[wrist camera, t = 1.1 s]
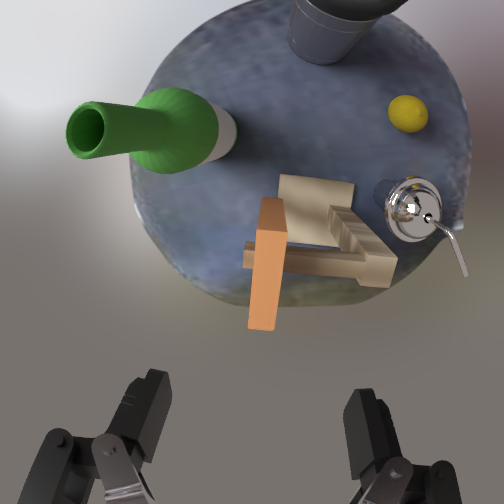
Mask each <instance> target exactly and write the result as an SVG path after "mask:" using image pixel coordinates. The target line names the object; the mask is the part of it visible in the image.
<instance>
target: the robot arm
mask: <svg viewBox="0 0 504 504" xmlns="http://www.w3.org/2000/svg"><path fill="white" fill-rule="evenodd" d="M407 1H408V0H292V7H291V15H290V22H289V28H288V42H289V44H290V46H291V48H292V50H293V51H294V52H295V53H296V54H297V55H298V56H299V57H301V58H302V59H304V60H305V61H308V62H310V63H314V64H318V65H328V64H333V63H336V62H338V61H339V60H341V59H342V58H343V57H344V56H345V55H346V54H347V53H348V52H349V51H350V50H351V49H352V48H353V47H354V46H355V44H356V43H357V42H358V41H359V40H360V39H361V38H362V37H363V36H364V35H365V34H366V33H367V32H368V31H369V30H370V28H371V27H372V26H373V25H374V24H375V23H376V22H377V21H378V20H379V19H380V18H381V17H382V16H383V15H387V14H390V13H392V12H394V11H395V10H397V9H398V8H399V7H400V6H401V5H403V4H404V3H405V2H407ZM171 401H172V390H171V386H170V380H169V375H168V372H165V371H160V370H156V369H150V370H149V371H148V373H147V375H146V377H145V379H142V378H139V377H138V378H137V379H135V380H134V381H133V382H132V383H131V384H130V385H129V386H128V388H127V390H126V392H125V396H123V398H122V400H121V403H120V405H119V407H118V409H117V411H116V413H115V415H114V417H113V419H112V421H111V423H110V425H109V427H108V429H107V431H106V432H105V433H104V434H101V435H99V436H97V437H96V438H83V437H74V436H72V435H71V434H70V433H69V432H68V431H67V430H65V429H61V428H56V429H53V430H51V431H49V432H48V434H47V435H46V437H45V439H44V441H43V443H42V445H41V447H40V450H39V452H38V454H37V456H36V459H35V461H34V463H33V465H32V467H31V470H30V472H29V475H28V477H27V479H26V482H25V484H24V487H23V489H22V492H21V495H20V498H19V500H18V503H17V504H87V502H88V499H89V495H90V492H91V489H92V486H93V483H94V480H95V478H96V479H101V480H102V483H103V486H104V488H105V492H106V495H105V501H106V504H158V503H157V501H156V499H155V497H154V495H153V494H152V491H151V490H150V487H149V486H148V483H147V481H146V479H145V477H144V475H143V473H142V471H141V467H142V464H143V461H145V462H148V463H151V462H152V458H153V456H154V452H155V449H156V446H157V443H158V440H159V437H160V434H161V431H162V429H163V426H164V423H165V420H166V417H167V414H168V411H169V408H170V405H171ZM343 421H344V427H345V434H346V440H347V447H348V454H349V460H350V468H351V476H352V480H358V479H360V481H361V485H360V486H359V487H358V489H357V490H356V492H355V493H354V495H353V496H352V498H351V499H350V500H349V502H348V503H347V504H398V503H399V504H462V501H461V497H460V492H459V486H458V482H457V478H456V473H455V470H454V467H453V465H452V464H451V463H449V462H448V461H443V460H441V461H438V462H436V463H434V464H433V465H432V466H423V465H414V464H411V462H410V461H409V460H407V459H406V458H404V457H403V456H402V453H401V450H400V446H399V442H398V439H397V435H396V432H395V428H394V427H393V422H392V419H391V414H390V411H389V408H388V406H387V405H386V404H385V403H384V401H383V400H382V399H376V397H375V393H374V391H373V389H372V388H367V389H355V390H354V392H353V394H352V396H351V397H350V399H349V401H348V403H347V405H346V407H345V409H344V413H343Z"/></svg>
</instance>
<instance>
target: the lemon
mask: <svg viewBox="0 0 504 504" xmlns="http://www.w3.org/2000/svg"><path fill="white" fill-rule="evenodd" d="M388 116H389V119H390V121H391V123H392V124H393V125H394V126H395V127H396V128H397V129H399V130H401V131H404V132H411V133H412V132H416V131H419V130H421V129H422V128H423V127H424V126H425V125H426V123H427V121H428V111H427V108H426V106H425V105H424V103H423V102H422V101H421V100H420V99H418V98H416V97H414V96H410V95H401V96H398V97H396V98H395V99H393V100H392V101H391V103H390V104H389V108H388Z"/></svg>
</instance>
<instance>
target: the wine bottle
mask: <svg viewBox="0 0 504 504" xmlns="http://www.w3.org/2000/svg"><path fill="white" fill-rule="evenodd" d="M237 136H238V129H237V124H236V122H235V120H234V119H233V117H232V116H231V115H230V114H229V113H228V112H226V111H225V110H223V109H221V108H220V107H218V106H216V105H214V104H213V103H211V102H209V101H207V100H206V99H204V98H202V97H200V96H198V95H196V94H194V93H192V92H190V91H188V90H185V89H180V88H162V89H159V90H157V91H154V92H151V93H149V94H148V95H146V96H145V97H143V98H142V99H140V100H139V102H138V103H137V104H136V105H135V106H134V107H133V106H127V105H120V104H112V103H103V102H93V101H91V102H86V103H84V104H82V105H80V106H79V107H78V108H77V109H75V111H74V112H73V113H72V115H71V116H70V118H69V120H68V123H67V127H66V141H67V145H68V147H69V150H70V151H71V152H72V153H73V154H74V155H75V156H76V157H78V158H81V159H92V158H97V157H103V156H109V155H116V154H122V153H129V152H130V154H131V156H132V157H133V158H134V160H135V161H136V162H137V163H138V164H139V165H141V166H142V167H144V168H145V169H147V170H149V171H153V172H156V173H160V174H173V173H177V172H181V171H185V170H187V169H190V168H193V167H196V166H199V165H202V164H205V163H207V162H210V161H213V160H216V159H218V158H221V157H223V156H225V155H226V154H227V153H228V152H230V151H231V150H232V148H233V147H234V145H235V143H236V140H237Z"/></svg>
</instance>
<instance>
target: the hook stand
mask: <svg viewBox="0 0 504 504" xmlns="http://www.w3.org/2000/svg"><path fill="white" fill-rule="evenodd" d="M353 191H354V184H353V183H349V182H342V181H336V180H329V179H322V178H314V177H306V176H298V175H290V174H280V180H279V190H278V198H280V199H283V205H284V211H285V218H286V224H287V231H288V234H287V242H296V243H305V244H315V245H324V246H333V247H339V248H340V249H341V251H335V250H325V249H316V248H306V247H297V246H287V245H286V250H285V257H284V265H283V272H292V273H302V274H313V275H324V276H335V277H347V278H356V279H357V280H358V282H359V284H360V286H371V287H385V288H389V287H390V284H391V280H392V277H393V274H394V270H395V267H396V263H397V260H398V258H397V256H396V255H395V254H394V253H393V252H392V251H391V250H390V249H389V248H388V247H387V246H386V245H385V244H384V243H383V242H382V240H381V239H380V238H379V237H378V236H377V235H376V234H375V233H374V232H373V231H372V230H371V229H370V228H369V227H368V226H367V225H366V224H365V223H364V222H363V221H362V220H361V219H360V218H359V217H358V216H357V215H356V214H355V213H354V212H353V211H352V210H351V203H352V197H353ZM255 243H256V242H246V244H245V248H244V257H243V268H251V269H253V266H254V254H255Z"/></svg>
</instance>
